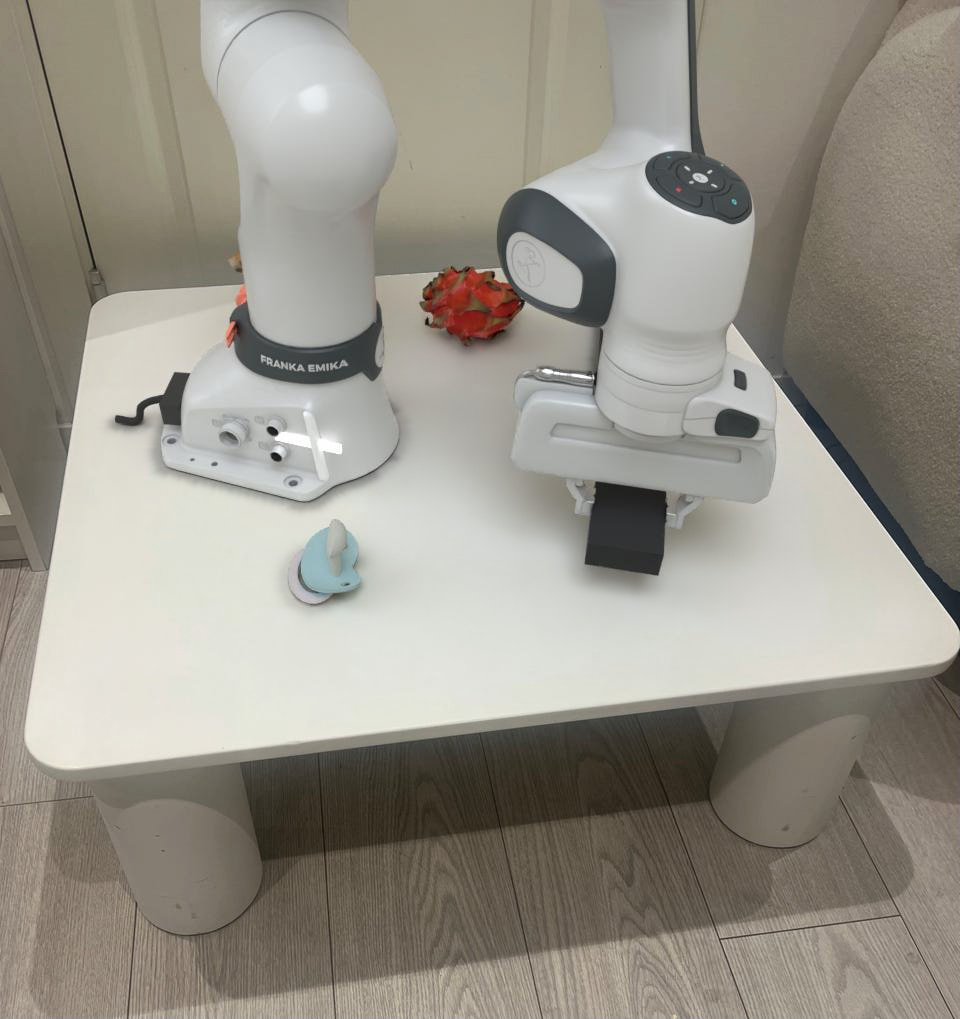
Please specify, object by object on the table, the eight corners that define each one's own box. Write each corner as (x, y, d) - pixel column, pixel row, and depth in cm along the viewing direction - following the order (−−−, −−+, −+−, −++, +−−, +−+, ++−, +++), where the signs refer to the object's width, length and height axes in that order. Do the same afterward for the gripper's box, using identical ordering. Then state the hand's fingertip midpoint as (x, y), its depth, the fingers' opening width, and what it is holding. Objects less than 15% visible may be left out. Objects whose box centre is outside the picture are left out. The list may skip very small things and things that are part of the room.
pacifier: (289, 615, 82) (363, 606, 83) (278, 563, 78) (356, 555, 79) (288, 550, 88) (358, 542, 88) (278, 498, 83) (351, 490, 84)
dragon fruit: (410, 344, 112) (513, 348, 115) (425, 342, 104) (536, 346, 107) (412, 266, 111) (516, 272, 114) (428, 257, 103) (540, 264, 106)
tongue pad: (658, 576, 81) (664, 554, 80) (584, 564, 82) (588, 543, 80) (662, 481, 90) (667, 460, 88) (595, 471, 90) (599, 450, 88)
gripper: (510, 387, 73) (498, 524, 82) (798, 427, 71) (751, 561, 81) (522, 338, 77) (509, 473, 87) (792, 375, 76) (749, 508, 85)
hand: (628, 516), depth 84 cm, fingers closed on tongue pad, 6 cm apart
